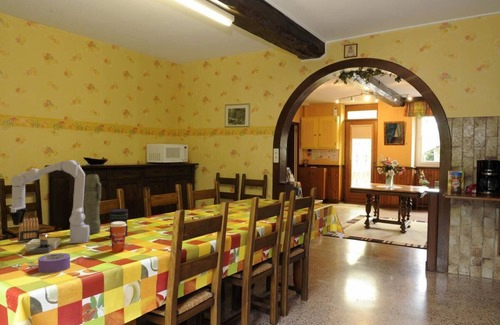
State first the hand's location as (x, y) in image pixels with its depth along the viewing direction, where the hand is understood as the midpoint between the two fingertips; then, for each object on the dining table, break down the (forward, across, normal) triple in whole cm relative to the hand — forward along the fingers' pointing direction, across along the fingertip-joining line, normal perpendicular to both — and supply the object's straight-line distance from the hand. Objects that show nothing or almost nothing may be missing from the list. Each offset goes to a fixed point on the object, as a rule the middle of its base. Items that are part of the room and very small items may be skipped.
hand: (18, 224), depth 185 cm
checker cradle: (+10, +17, +15) cm, 25 cm away
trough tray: (+10, +8, +14) cm, 19 cm away
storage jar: (+10, -10, +48) cm, 50 cm away
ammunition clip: (+10, -5, +4) cm, 12 cm away
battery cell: (+9, +17, +17) cm, 26 cm away
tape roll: (+10, +45, +28) cm, 54 cm away
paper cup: (+10, +23, +51) cm, 57 cm away
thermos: (+10, -21, +32) cm, 40 cm away
